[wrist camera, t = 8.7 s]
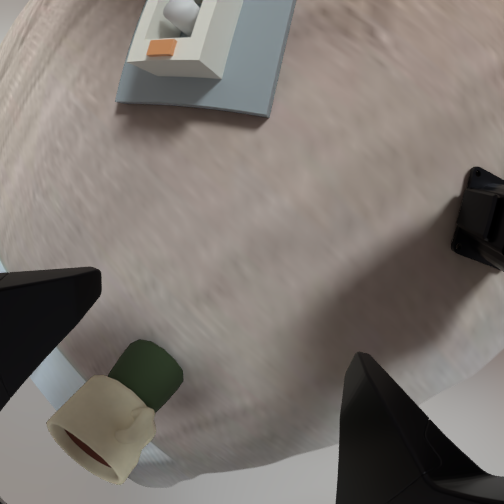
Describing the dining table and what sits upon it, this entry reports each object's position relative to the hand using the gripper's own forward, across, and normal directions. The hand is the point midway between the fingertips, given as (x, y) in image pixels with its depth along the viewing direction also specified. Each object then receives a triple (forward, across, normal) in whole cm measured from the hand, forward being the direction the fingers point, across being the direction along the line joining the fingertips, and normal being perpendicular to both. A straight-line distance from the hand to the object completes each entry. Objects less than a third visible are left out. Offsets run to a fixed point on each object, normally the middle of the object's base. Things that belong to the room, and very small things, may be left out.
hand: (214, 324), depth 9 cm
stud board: (+12, +8, -18) cm, 23 cm away
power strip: (+11, +8, -18) cm, 22 cm away
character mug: (+12, +8, +15) cm, 21 cm away
